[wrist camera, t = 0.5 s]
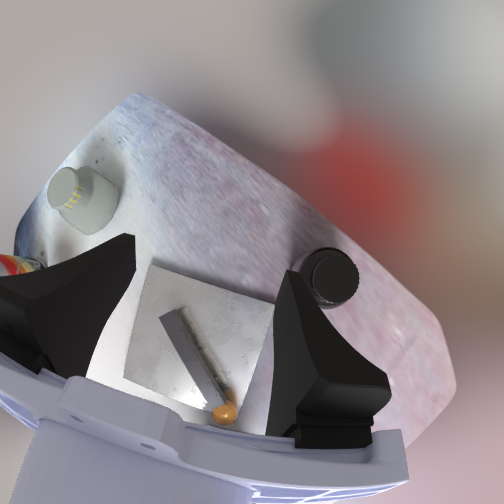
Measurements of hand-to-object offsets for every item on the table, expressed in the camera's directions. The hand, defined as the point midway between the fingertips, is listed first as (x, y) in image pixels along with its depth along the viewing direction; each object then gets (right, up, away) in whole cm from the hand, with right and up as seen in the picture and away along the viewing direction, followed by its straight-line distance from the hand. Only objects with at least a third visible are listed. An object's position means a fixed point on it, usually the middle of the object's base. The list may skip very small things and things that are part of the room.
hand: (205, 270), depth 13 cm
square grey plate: (-6, -12, +25) cm, 28 cm away
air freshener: (-23, +8, +27) cm, 36 cm away
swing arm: (-5, -15, +22) cm, 27 cm away
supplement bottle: (+10, -3, +25) cm, 28 cm away
